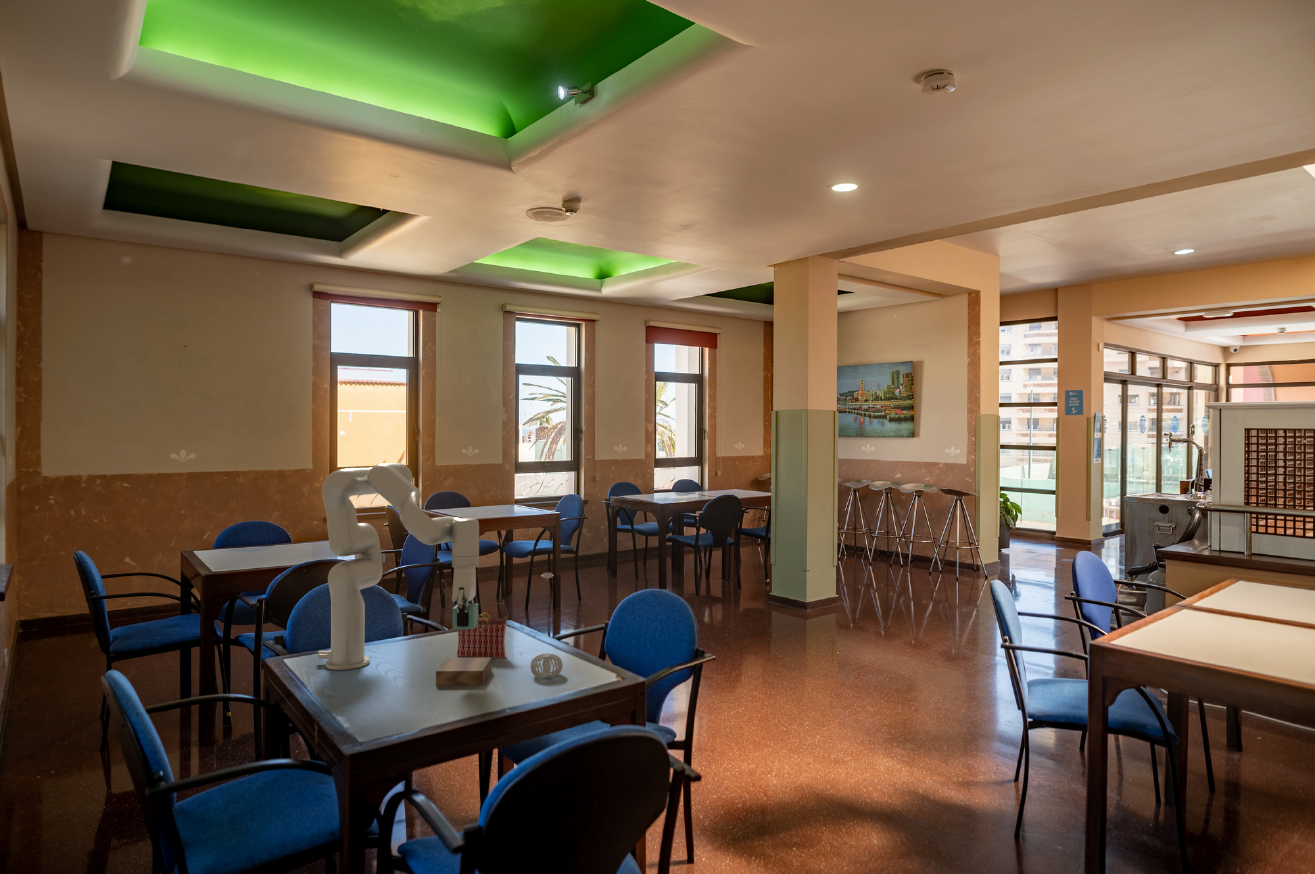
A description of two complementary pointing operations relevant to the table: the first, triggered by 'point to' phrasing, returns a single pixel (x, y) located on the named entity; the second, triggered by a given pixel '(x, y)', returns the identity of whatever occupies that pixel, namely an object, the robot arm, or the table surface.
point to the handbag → (482, 637)
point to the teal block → (472, 617)
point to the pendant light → (546, 658)
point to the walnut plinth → (463, 671)
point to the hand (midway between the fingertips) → (465, 622)
